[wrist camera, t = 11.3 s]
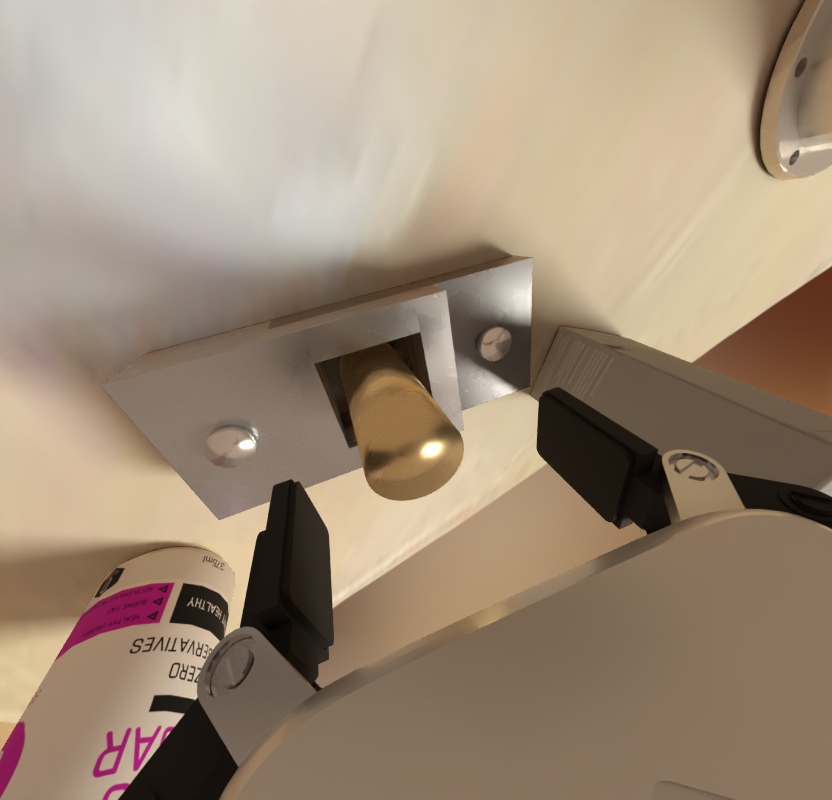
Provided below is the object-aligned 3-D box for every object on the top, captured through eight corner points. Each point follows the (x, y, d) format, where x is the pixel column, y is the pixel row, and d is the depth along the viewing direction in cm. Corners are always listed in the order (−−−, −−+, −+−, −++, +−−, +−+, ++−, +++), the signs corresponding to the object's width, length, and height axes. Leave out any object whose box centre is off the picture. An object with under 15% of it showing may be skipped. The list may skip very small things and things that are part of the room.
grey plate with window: (512, 255, 19) (564, 260, 15) (514, 375, 24) (553, 402, 20) (145, 353, 15) (91, 392, 12) (233, 473, 20) (216, 528, 16)
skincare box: (626, 336, 26) (958, 440, 13) (589, 407, 29) (827, 551, 16) (554, 322, 23) (897, 439, 10) (520, 403, 26) (747, 579, 12)
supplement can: (92, 610, 22) (-197, 1113, 9) (124, 533, 20) (-192, 1045, 7) (215, 611, 26) (130, 962, 13) (252, 547, 24) (193, 891, 11)
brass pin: (391, 330, 19) (458, 402, 11) (404, 383, 21) (467, 478, 13) (330, 347, 18) (350, 439, 10) (350, 401, 20) (379, 513, 12)
